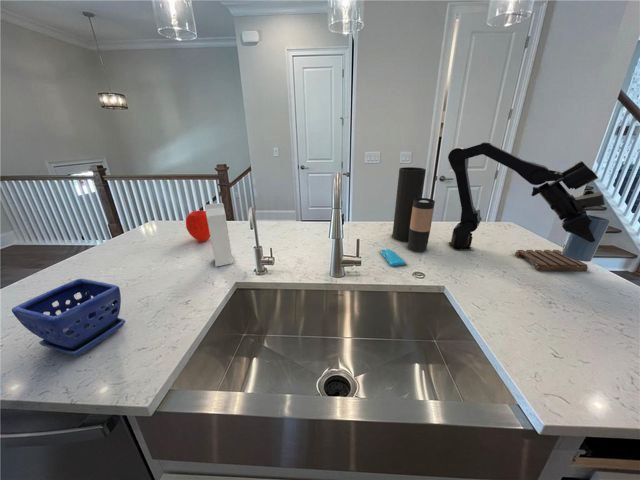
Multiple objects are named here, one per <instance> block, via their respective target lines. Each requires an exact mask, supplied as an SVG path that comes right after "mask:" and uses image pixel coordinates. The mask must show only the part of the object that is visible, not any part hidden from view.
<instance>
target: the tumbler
mask: <svg viewBox="0 0 640 480" xmlns="http://www.w3.org/2000/svg"><path fill="white" fill-rule="evenodd" d="M587 215H588V216H589V217H590V218H591V220H592V222H591V223H590V225H589V228H590V230H591V232H592V234H593V236H594V238H595V241H594V242H589V241H587V240H585V239H583V238H581V237H579V236H577V235H575V234H573V233H571V232H569V235H568V236H567V239H566V240H565V243H564V246H563V248H562V250H561V252H562V253H561V254H562V255H564V256H566V257H568V258H571V259H574V260H579V261H581V262H583V263H584V262H585V263H590V262H591V261H592V260H593V258H594V256H595V254H596V252H597V250H598V248H599V246H600V244H601V242H602V240H603V238H604V236H605V234H606V232H607V230H608V228H609V226H610V224H611V222H612V220H611V219H608V218H606V217H602V216H596V215H591V214H587Z"/></svg>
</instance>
